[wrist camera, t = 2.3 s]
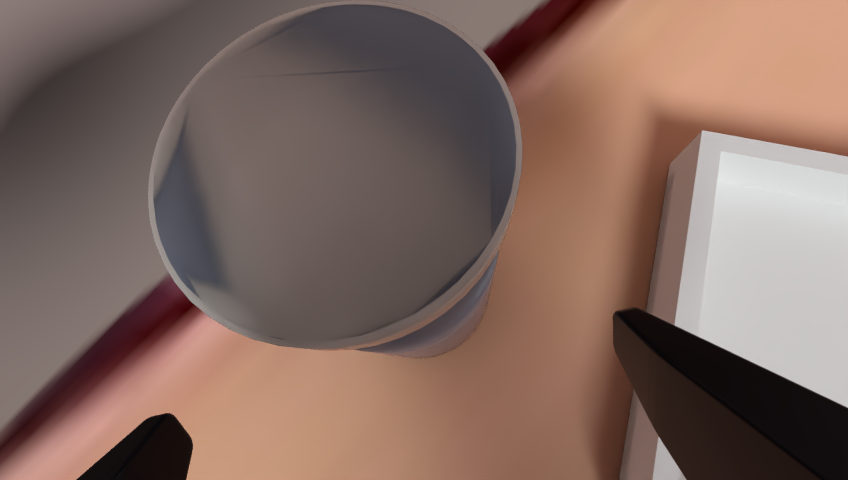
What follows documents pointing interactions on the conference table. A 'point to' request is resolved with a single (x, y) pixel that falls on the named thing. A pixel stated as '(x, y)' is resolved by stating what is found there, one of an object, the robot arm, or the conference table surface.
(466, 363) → the conference table surface
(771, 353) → the tray
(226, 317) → the canister
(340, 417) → the conference table surface
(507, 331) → the conference table surface
